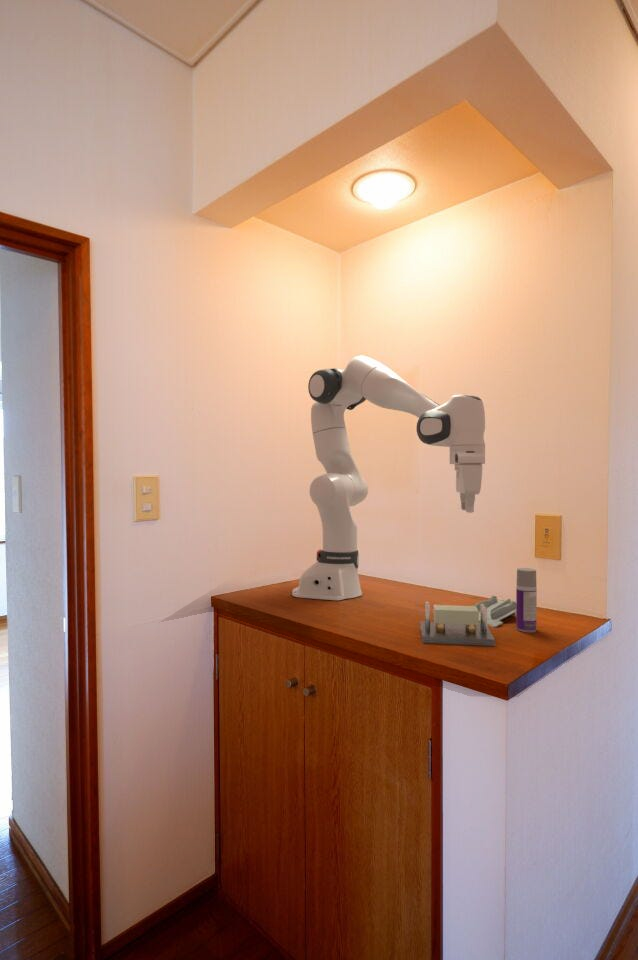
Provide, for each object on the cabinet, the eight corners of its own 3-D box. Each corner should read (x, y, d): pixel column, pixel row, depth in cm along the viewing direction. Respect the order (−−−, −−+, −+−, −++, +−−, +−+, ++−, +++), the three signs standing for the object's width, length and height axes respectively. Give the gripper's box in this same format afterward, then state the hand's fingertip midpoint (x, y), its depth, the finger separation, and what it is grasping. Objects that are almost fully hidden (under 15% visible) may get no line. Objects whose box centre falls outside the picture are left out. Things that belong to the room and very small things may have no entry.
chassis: (422, 642, 123) (422, 610, 123) (420, 627, 136) (420, 597, 136) (495, 646, 121) (495, 612, 121) (485, 629, 134) (485, 599, 134)
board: (434, 623, 127) (434, 609, 127) (433, 617, 132) (433, 604, 132) (478, 625, 125) (478, 611, 125) (475, 619, 130) (475, 606, 130)
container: (513, 627, 136) (513, 567, 136) (532, 627, 136) (532, 567, 136) (519, 632, 131) (520, 571, 131) (539, 632, 131) (539, 571, 131)
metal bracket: (490, 590, 154) (530, 601, 141) (494, 608, 155) (535, 621, 141) (451, 609, 149) (489, 622, 135) (456, 628, 150) (494, 643, 136)
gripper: (450, 458, 149) (450, 508, 149) (459, 456, 129) (459, 513, 129) (474, 458, 148) (474, 508, 148) (486, 455, 128) (486, 514, 128)
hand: (467, 511), depth 138 cm, fingers open, 8 cm apart
